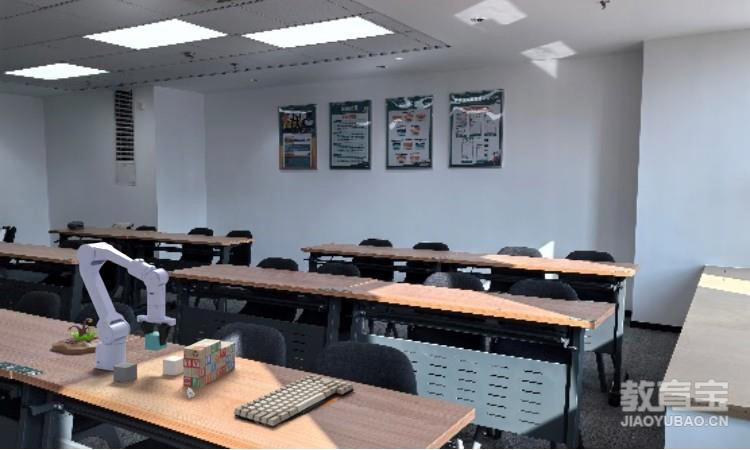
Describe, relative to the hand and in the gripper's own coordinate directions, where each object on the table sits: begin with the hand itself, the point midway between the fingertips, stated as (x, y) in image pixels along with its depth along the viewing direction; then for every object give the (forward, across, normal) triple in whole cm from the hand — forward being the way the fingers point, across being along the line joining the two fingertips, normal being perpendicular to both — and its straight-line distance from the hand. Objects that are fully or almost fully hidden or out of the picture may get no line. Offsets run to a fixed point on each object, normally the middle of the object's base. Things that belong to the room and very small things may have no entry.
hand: (156, 344), depth 194 cm
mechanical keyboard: (+10, +57, -8) cm, 59 cm away
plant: (+10, -46, +14) cm, 49 cm away
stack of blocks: (+10, +20, +3) cm, 22 cm away
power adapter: (+10, +27, -15) cm, 32 cm away
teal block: (+1, 0, 0) cm, 1 cm away
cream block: (+10, +6, +1) cm, 12 cm away
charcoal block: (+10, -3, -11) cm, 15 cm away
